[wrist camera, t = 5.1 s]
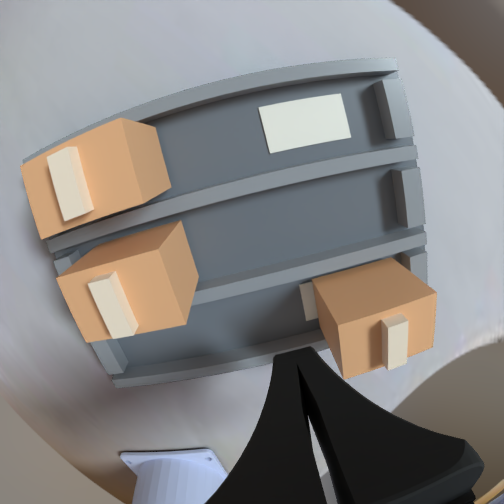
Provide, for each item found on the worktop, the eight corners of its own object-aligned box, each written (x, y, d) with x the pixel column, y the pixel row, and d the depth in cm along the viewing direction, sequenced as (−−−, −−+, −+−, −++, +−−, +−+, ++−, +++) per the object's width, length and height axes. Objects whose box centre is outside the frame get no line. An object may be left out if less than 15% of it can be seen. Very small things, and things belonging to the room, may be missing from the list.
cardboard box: (393, 304, 14) (439, 355, 10) (319, 326, 15) (348, 389, 10) (391, 257, 14) (445, 299, 9) (311, 279, 14) (342, 335, 9)
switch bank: (415, 298, 16) (433, 315, 14) (121, 368, 17) (110, 391, 15) (382, 64, 12) (403, 53, 10) (39, 157, 13) (14, 160, 11)
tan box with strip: (198, 276, 13) (183, 334, 9) (119, 295, 14) (80, 351, 9) (180, 219, 13) (153, 255, 8) (99, 244, 13) (47, 285, 8)
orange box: (171, 187, 12) (137, 206, 8) (89, 214, 12) (31, 244, 8) (155, 127, 11) (113, 115, 7) (73, 159, 11) (9, 167, 7)
